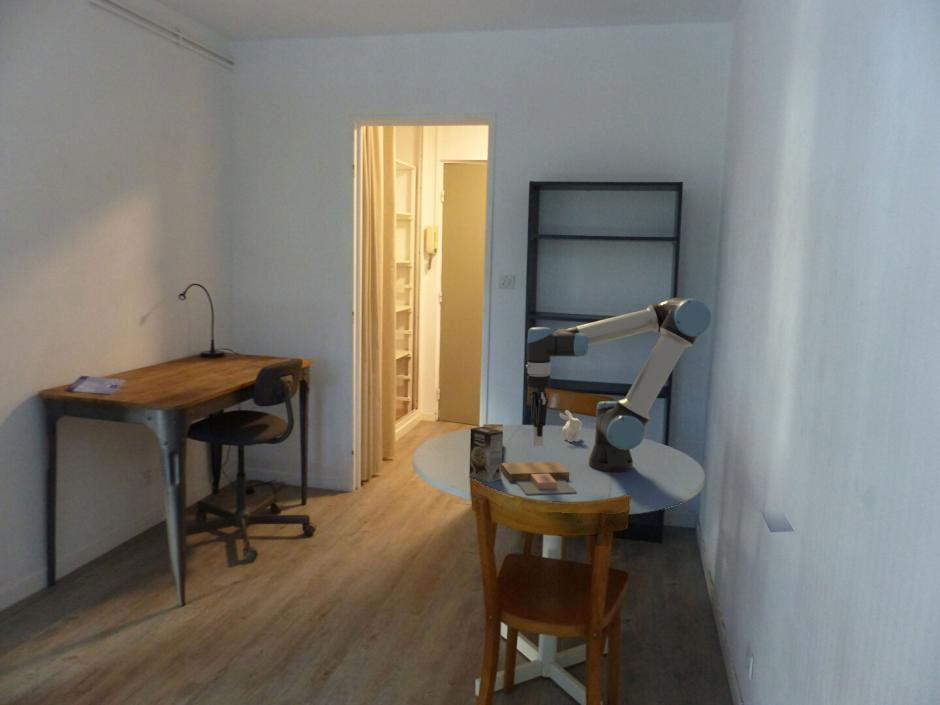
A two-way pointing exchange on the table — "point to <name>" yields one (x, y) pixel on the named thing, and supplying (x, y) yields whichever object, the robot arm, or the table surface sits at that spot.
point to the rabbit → (571, 427)
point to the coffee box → (486, 453)
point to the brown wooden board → (533, 470)
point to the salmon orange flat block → (543, 481)
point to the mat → (533, 490)
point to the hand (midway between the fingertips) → (538, 445)
